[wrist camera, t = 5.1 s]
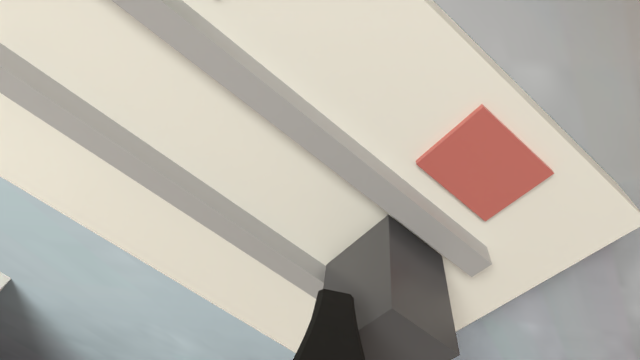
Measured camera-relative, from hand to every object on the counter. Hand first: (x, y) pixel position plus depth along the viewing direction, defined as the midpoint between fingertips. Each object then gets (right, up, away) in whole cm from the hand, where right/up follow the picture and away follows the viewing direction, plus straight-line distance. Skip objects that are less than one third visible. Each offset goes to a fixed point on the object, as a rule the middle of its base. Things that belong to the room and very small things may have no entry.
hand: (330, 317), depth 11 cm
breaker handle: (+2, +1, +4) cm, 4 cm away
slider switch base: (-2, +5, +4) cm, 7 cm away
